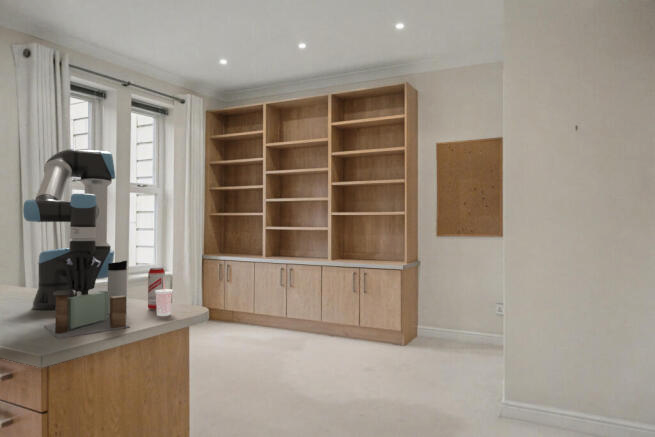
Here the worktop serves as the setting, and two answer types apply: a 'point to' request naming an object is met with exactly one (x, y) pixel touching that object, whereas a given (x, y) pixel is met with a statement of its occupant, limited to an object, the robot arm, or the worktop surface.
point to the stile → (117, 311)
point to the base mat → (85, 328)
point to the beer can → (154, 285)
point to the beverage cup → (163, 300)
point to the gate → (87, 309)
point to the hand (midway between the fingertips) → (81, 310)
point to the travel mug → (117, 281)
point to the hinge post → (61, 311)
